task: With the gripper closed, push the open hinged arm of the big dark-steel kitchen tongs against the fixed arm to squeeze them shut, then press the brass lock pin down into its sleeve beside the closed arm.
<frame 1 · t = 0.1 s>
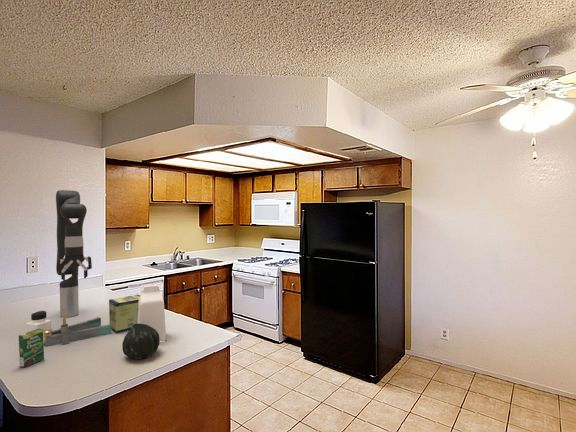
hand: (74, 279, 161), 29 cm above the counter, fingers open, 8 cm apart
coffee box: (32, 363, 137), on the counter
tong arm: (76, 328, 170), point 2 cm above the counter, hinge at 25.0°
protein box: (128, 327, 178), on the counter
lock pin: (64, 319, 164), point 9 cm above the counter, slide at 0.0 cm
squash: (141, 355, 145), on the counter
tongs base: (46, 343, 156), on the counter
milk: (151, 339, 162), on the counter
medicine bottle: (39, 336, 166), on the counter
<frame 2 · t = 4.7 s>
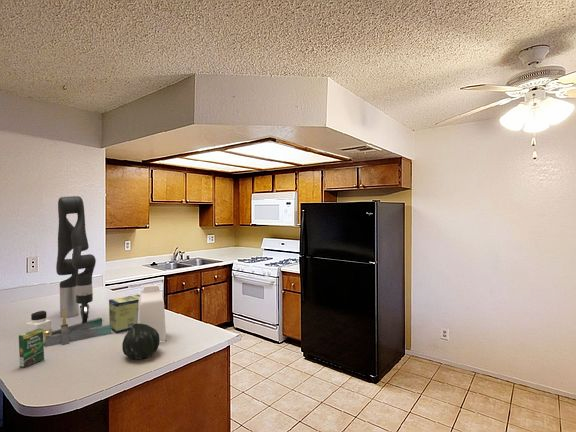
hand: (84, 325, 176), 2 cm above the counter, fingers closed
tong arm: (77, 328, 170), point 2 cm above the counter, hinge at 22.8°
everything else where it was.
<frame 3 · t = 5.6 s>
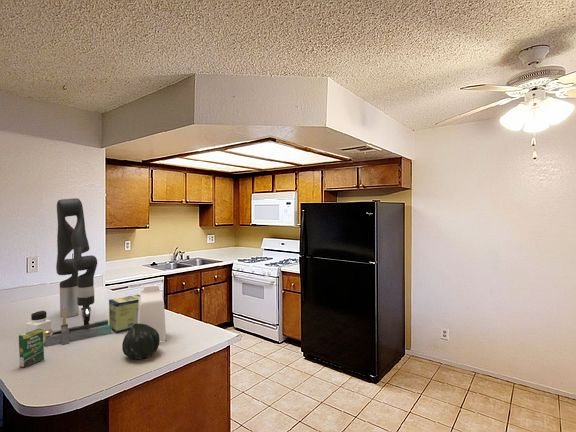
hand: (86, 328, 172), 2 cm above the counter, fingers closed
tong arm: (81, 329, 168), point 2 cm above the counter, hinge at 8.2°, touching gripper
everything else where it was.
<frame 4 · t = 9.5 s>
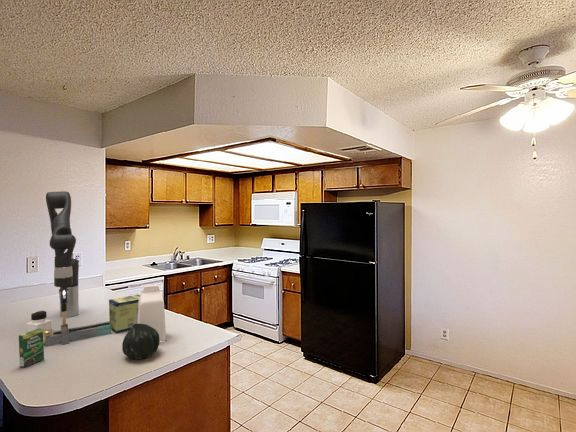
hand: (63, 311, 164), 13 cm above the counter, fingers closed
tong arm: (82, 330, 167), point 2 cm above the counter, hinge at 1.0°
lock pin: (64, 320, 164), point 8 cm above the counter, slide at 0.8 cm, touching gripper
everything else where it was.
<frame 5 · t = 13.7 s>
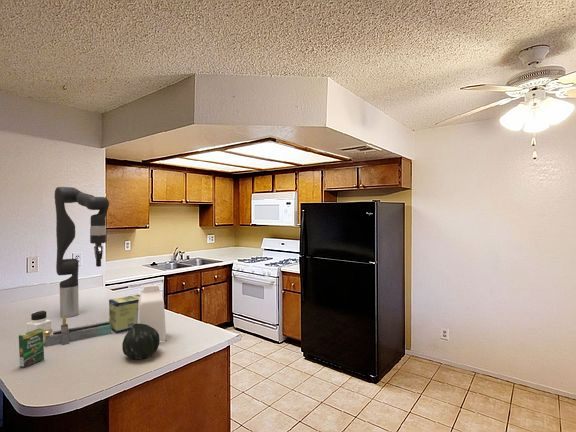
hand: (98, 266, 180), 32 cm above the counter, fingers closed
lock pin: (64, 325, 164), point 6 cm above the counter, slide at 3.2 cm
everything else where it was.
at the end: tong arm at +1° (first picture: +25°); lock pin slide at 3.2 cm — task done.
